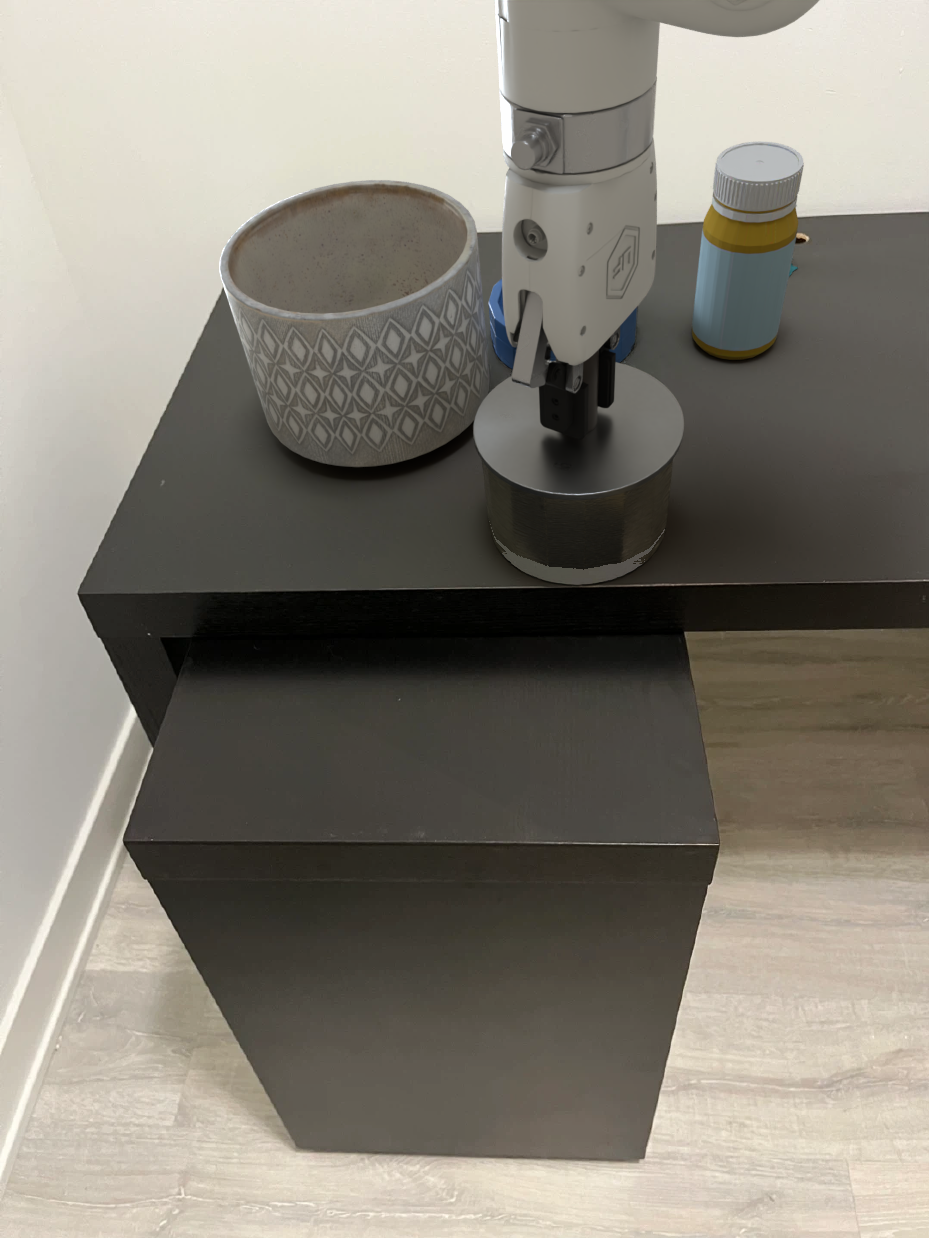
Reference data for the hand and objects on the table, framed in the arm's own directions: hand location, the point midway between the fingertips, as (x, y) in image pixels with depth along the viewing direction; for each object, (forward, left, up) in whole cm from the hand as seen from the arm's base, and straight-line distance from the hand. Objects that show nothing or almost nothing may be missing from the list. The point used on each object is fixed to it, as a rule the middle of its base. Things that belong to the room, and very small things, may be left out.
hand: (577, 413), depth 61 cm
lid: (0, 0, -1) cm, 1 cm away
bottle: (-1, -25, -10) cm, 27 cm away
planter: (+21, -4, -10) cm, 24 cm away
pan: (+12, -19, -10) cm, 24 cm away
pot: (0, 0, -10) cm, 10 cm away
